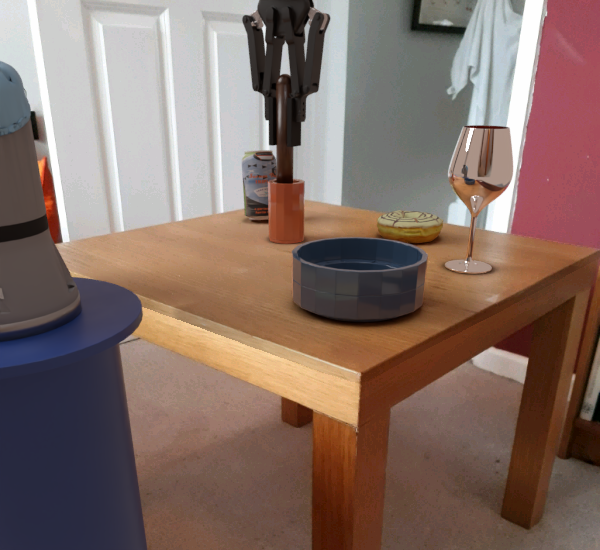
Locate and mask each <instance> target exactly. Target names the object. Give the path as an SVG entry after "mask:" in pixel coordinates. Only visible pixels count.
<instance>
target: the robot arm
mask: <svg viewBox="0 0 600 550" xmlns="http://www.w3.org/2000/svg"><path fill="white" fill-rule="evenodd" d="M256 8H257V9H256V10H255V11H253V12H252V13H251V14H244V15H243V16H242V18H241V21H242V24H243V27H244V30H245V33H246V36H247V47H248V48H247V49H248V59H249V67H250V77H251V87H252V90H253V91H254V92H257V93H259V94H261V95H262V96H263V98H264V101H263V102H264V104H263V105H264V119H265V121H268V146H273V147H274V146H276V81H277V78H278V77H279V76H280V75H281V71H282V59H283V49H284V45H285V44H286V45H287V52H288V63H289V75H290V76H291V87H292V93H291V94H289V95H290V97H292V98H287V147H295V148H296V147H301V146H302V123H304V122H306V119H307V98H308V97H309V96H311V95H313V94H315V93H318V92H319V90H320V81H321V72H322V63H323V54H324V45H325V35H326V32H327V30H328V27H329V24H330V22H331V15H330V14H329V13H326V12H323V11H320V10H319V9H318V8H315V3H314V0H258V3H257V7H256ZM307 24H308V25H309V28H308V33H307V41H306V31H305V28H306V26H307ZM264 26H265V33H264V31H263V28H264ZM305 43H306V50H305ZM265 44H266V45H265ZM305 52H306V53H305ZM24 87H25V86H24V82H23V80H22V77H21V75H20V74H19V72H18V71H17V69H16V68H14V67H13V66H12V65H11V64H10V63H9V64H8V63H6V62H4V61H2V60H0V342H2V341H9V340H15V339H20V338H25V337H30V336H34V335H38V334H41V333H44V332H48V331H50V330H53V329H56V328H58V327H60V326H63V325H65V324H67V323H68V322H70V321H72V320H73V319H74V318H75V317H77V316H78V315H79V313H80V312H81V309H82V306H81V300H80V294H79V290H78V288H77V285H76V283H75V282H74V280H73V278H72V277H73V276H72V274H71V272H70V270H69V268H68V266H67V264H66V262H65V261H64V259H63V257H62V255H61V253H60V251H59V249H58V247H57V245H56V243H55V240H54V239H53V237H52V235H51V231H50V225H49V220H48V214H47V208H46V202H45V196H44V191H43V189H44V188H43V184H42V179H41V178H42V177H41V173H40V166H39V160H38V154H37V149H36V143H35V136H34V132H33V131H34V130H33V125H32V119H31V116H32V109H31V108H32V107H31V104H30V102H29V100H28V98H27V95H26V92H25V88H24Z"/></svg>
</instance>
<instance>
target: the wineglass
mask: <svg viewBox="0 0 600 550" xmlns="http://www.w3.org/2000/svg"><path fill="white" fill-rule="evenodd" d="M456 141H457V142H456V144H455V147H454V149H453V153H452V155H451V159H450V161H449V165H448V169H447V181H448V184H449V186H450V188H451V190H452V192H453V193H454V194H455V195H456V196H457V198H458V199H459V200H460V201H461V202H462V203H463V205H464V206H466V208H467V210H468V211H469V213H470V224H469V231H468V233H469V234H468V239H467V246H466V253H465V257H464V259H452V260H448V261H446V262H445V264H444V267H445V269H447V270H449V271H452V272H455V273H460V274H467V275H478V274H479V275H481V274H486V273H489V272H491V271H492V269H493V267H492V265H490V264H489V263H488V262H484V261H480V260H475V259H474V260H473V255H474V254H473V253H474V245H475V236H476V231H477V230H476V229H477V222H478V217H479V215H480V213H481V212H482V211H483V210H484V209H485V208H486V207H487V206H489V204H491V203H492V202H494V201H495V200H497V199H498V198H499V197H500V196H501V195H503V193H504V192H506V190H507V189H508V187H510V184H511V182H512V180H513V176H514V158H513V157H514V156H513V145H512V135H511V129H510V127H509V126H502V125H488V124H487V125H481V124H480V125H479V124H478V125H477V124H476V125H475V124H473V125H463V126H462V128H461V130H460V133H459V135H458V139H457V140H456Z"/></svg>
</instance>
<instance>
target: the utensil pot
mask: <svg viewBox="0 0 600 550" xmlns="http://www.w3.org/2000/svg"><path fill="white" fill-rule="evenodd" d="M305 185H306V182H305V180H303V179H300V178H299V179H298V178H293V183H276V179H273V180H269V181H268V216H269V219H268V239H269V241H270V242H272V243H275V244H285V245H291V244H298V243H299V244H300V243H302V242H303V241H304V240H305V202H306V200H305V196H306V195H305V193H306V192H305V188H306V187H305Z"/></svg>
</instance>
